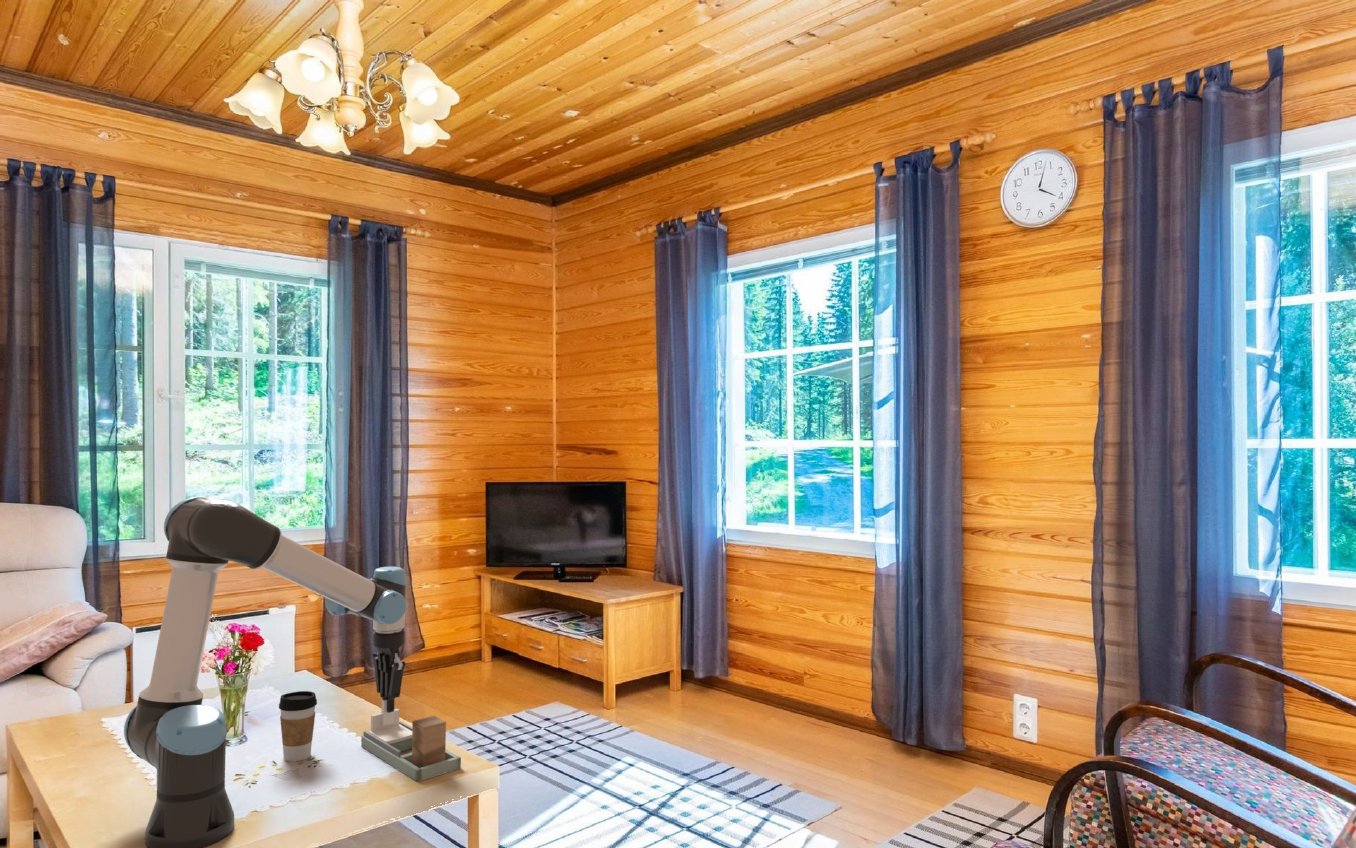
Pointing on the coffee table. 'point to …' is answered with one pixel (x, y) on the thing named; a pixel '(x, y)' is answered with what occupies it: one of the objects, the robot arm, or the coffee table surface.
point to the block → (428, 741)
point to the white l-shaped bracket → (389, 729)
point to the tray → (408, 757)
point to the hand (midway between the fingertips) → (387, 723)
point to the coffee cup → (297, 724)
